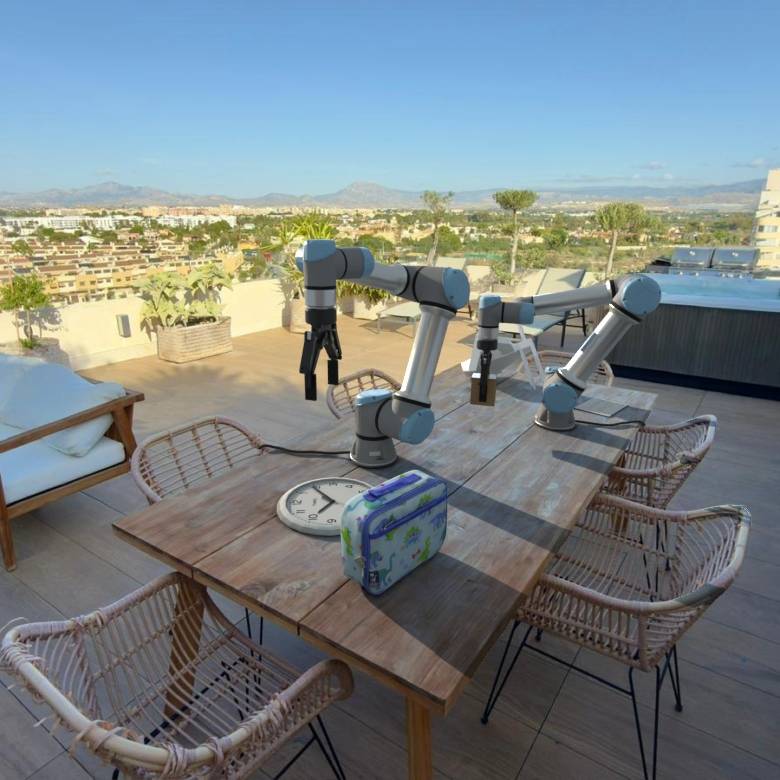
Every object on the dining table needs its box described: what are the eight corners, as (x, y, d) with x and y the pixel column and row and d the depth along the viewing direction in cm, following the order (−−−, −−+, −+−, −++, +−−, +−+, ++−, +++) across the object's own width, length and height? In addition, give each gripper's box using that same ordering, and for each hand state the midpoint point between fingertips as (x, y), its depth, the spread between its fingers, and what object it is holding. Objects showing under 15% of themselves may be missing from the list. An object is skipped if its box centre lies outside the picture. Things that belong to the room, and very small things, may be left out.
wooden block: (471, 399, 201) (473, 372, 198) (495, 401, 199) (497, 374, 196) (469, 404, 195) (471, 377, 192) (494, 406, 193) (496, 379, 190)
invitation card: (608, 416, 214) (573, 407, 224) (608, 416, 214) (573, 408, 224) (628, 404, 229) (594, 396, 238) (628, 405, 229) (594, 397, 238)
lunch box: (368, 607, 104) (369, 515, 98) (334, 582, 112) (333, 494, 106) (451, 554, 122) (455, 472, 116) (417, 535, 129) (420, 457, 123)
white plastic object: (482, 418, 266) (461, 395, 241) (463, 346, 288) (443, 318, 264) (553, 394, 254) (538, 368, 229) (528, 321, 276) (512, 289, 251)
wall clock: (392, 527, 129) (268, 531, 127) (391, 533, 130) (269, 537, 127) (383, 473, 158) (282, 475, 155) (383, 478, 158) (282, 480, 156)
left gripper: (327, 299, 137) (328, 377, 143) (281, 313, 114) (285, 405, 120) (353, 301, 135) (354, 380, 141) (313, 315, 112) (315, 409, 118)
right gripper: (479, 332, 200) (475, 390, 207) (474, 343, 182) (470, 405, 189) (499, 334, 198) (495, 392, 205) (496, 344, 180) (491, 407, 187)
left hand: (322, 392), depth 130 cm, fingers open, 13 cm apart
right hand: (483, 398), depth 197 cm, fingers closed on wooden block, 6 cm apart
